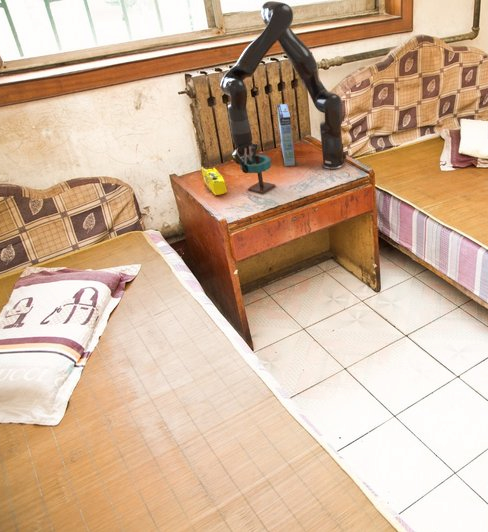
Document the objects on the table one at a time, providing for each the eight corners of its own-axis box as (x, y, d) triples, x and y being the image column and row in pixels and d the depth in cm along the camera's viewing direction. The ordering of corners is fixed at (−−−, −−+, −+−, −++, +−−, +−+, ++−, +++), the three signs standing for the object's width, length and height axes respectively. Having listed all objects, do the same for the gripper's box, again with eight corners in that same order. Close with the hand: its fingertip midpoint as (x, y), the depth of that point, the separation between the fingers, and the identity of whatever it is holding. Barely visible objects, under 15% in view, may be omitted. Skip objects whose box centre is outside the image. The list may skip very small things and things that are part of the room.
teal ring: (254, 159, 231) (253, 152, 229) (276, 164, 226) (275, 157, 224) (235, 169, 222) (233, 163, 221) (258, 175, 217) (256, 168, 216)
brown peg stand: (260, 183, 235) (255, 150, 227) (275, 186, 232) (270, 153, 224) (248, 190, 230) (242, 156, 221) (263, 194, 226) (257, 160, 218)
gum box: (282, 151, 266) (276, 104, 253) (292, 150, 267) (287, 103, 254) (285, 166, 250) (278, 117, 237) (296, 165, 251) (290, 116, 238)
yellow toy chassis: (203, 184, 236) (199, 165, 231) (216, 180, 238) (212, 163, 234) (214, 197, 224) (210, 178, 220) (228, 194, 227) (224, 175, 222)
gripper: (236, 137, 204) (243, 179, 214) (259, 125, 214) (266, 167, 224) (221, 134, 207) (229, 176, 217) (245, 123, 217) (252, 163, 227)
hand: (248, 171), depth 220 cm, fingers closed on teal ring, 2 cm apart
